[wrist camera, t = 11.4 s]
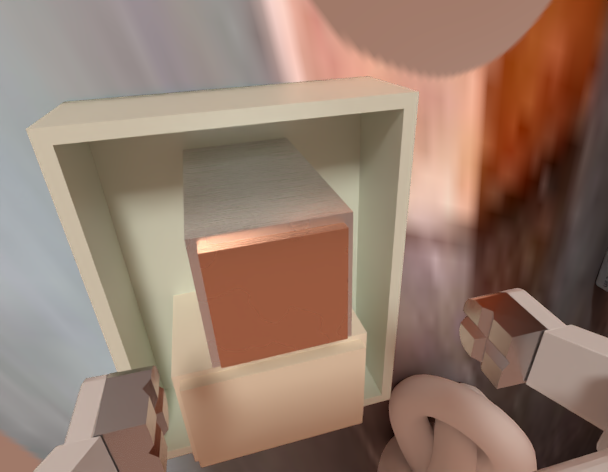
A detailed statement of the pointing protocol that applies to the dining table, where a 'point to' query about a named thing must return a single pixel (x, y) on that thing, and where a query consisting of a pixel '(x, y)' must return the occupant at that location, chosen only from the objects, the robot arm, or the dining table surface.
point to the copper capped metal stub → (266, 250)
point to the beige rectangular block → (262, 390)
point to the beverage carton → (603, 274)
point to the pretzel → (451, 431)
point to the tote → (170, 203)
